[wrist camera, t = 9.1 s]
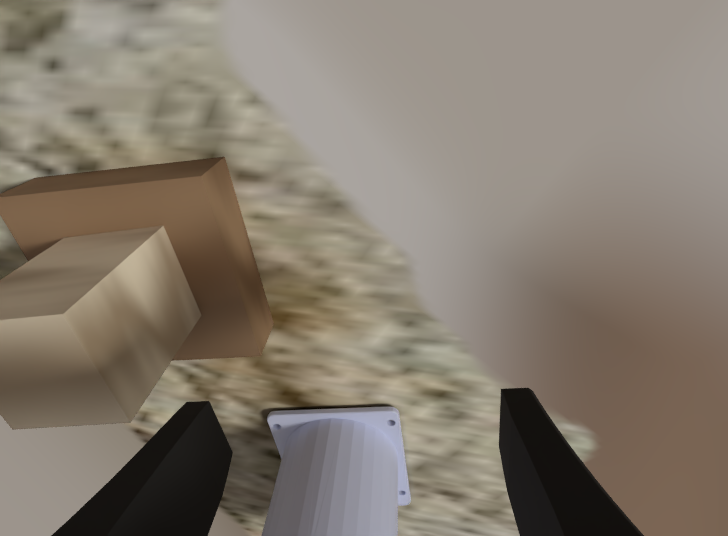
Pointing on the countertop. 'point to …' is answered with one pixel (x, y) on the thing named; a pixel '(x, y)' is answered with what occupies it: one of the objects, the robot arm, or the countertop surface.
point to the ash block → (91, 328)
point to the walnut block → (185, 231)
